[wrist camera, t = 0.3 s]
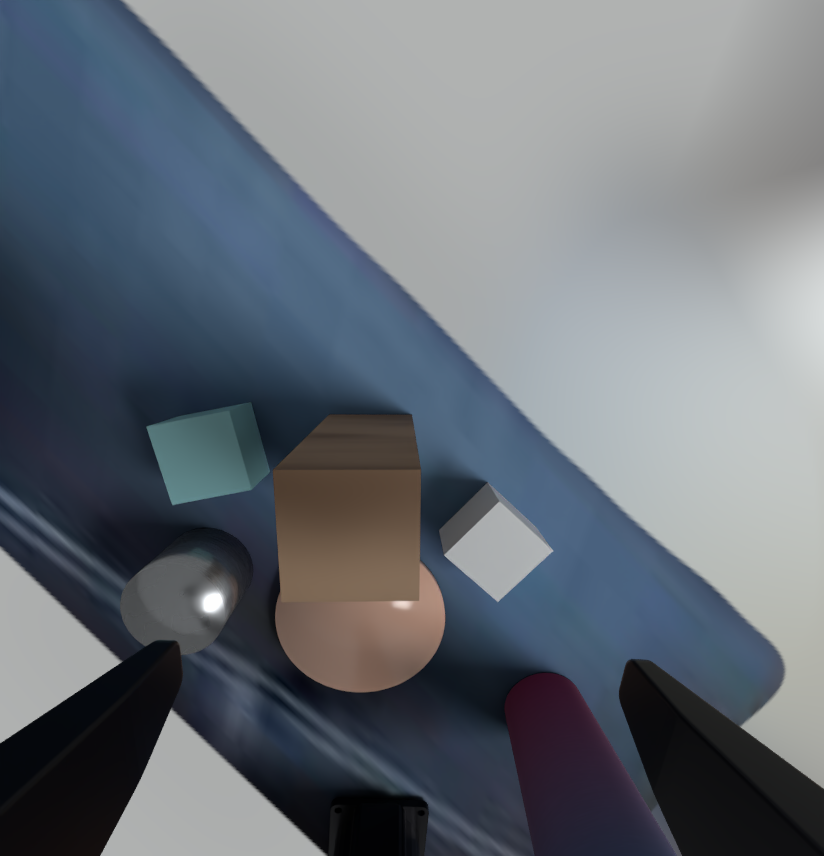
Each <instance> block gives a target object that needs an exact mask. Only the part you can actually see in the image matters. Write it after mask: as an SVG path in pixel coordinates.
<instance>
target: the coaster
mask: <svg viewBox="0 0 824 856" xmlns="http://www.w3.org/2000/svg"><path fill="white" fill-rule="evenodd" d="M275 622H276V629H277V634H278V637H279V640H280V643H281V645H282V647H283V649H284V651H285V653H286V654H287V656H288V657H289V658H290V660H291V661H292V662H293V663H294V664H295V665H296V667H297V668H298V669H299V670H301V671H302V672H303V673H304V674H306V675H307V676H308V677H310V678H312V679H313V680H315V681H317V682H319V683H321V684H323V685H325V686H328V687H331V688H334V689H338V690H343V691H349V692H372V691H379V690H383V689H387V688H390V687H393V686H396V685H398V684H400V683H402V682H404V681H406V680H408V679H410V678H411V677H413V676H414V675H416V674H417V673H418V672H419V671H420V670H421V669H423V668H424V667H425V665H426V664H427V663H428V662H429V661H430V660H431V658H432V657H433V655H434V654H435V652H436V651H437V649H438V647H439V645H440V642H441V639H442V636H443V632H444V627H445V610H444V602H443V597H442V594H441V590H440V587H439V585H438V583H437V581H436V579H435V577H434V576H433V574H432V572H431V571H430V570H429V569H428V567H427V566H426V565H425V564H424V563H423V562H422V561H421V560H420V586H419V601H367V602H281V591H280V594H279V596H278V600H277V604H276V612H275Z"/></svg>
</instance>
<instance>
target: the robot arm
mask: <svg viewBox="0 0 824 856" xmlns="http://www.w3.org/2000/svg"><path fill="white" fill-rule="evenodd" d="M182 677H183V671H182V660H181V650H180V644H179V643H178V642H177V641H175V640H156V641H154V642H152V643H150V644H149V645H147V646H146V647H144V648H143V649H141V650H140V651H138V652H137V653H135V654H134V655H132V656H131V657H129V658H128V659H126V660H125V661H123V662H122V663H120V664H119V665H117V666H116V667H114V668H113V669H111V670H110V671H108V672H107V673H105V674H104V675H102V676H101V677H99V678H98V679H96V680H95V681H93V682H92V683H90V684H89V685H87V686H86V687H84V688H83V689H81V690H80V691H78V692H77V693H75V694H74V695H72V696H71V697H69V698H68V699H66V700H65V701H63V702H62V703H60V704H59V705H57V706H56V707H54V708H53V709H51V710H50V711H48V712H47V713H45V714H44V715H42V716H41V717H39V718H38V719H36V720H35V721H33V722H32V723H30V724H29V725H27V726H26V727H24V728H23V729H21V730H20V731H18V732H17V733H15V734H14V735H12V736H11V737H9V738H8V739H6V740H5V741H3V742H2V743H0V856H100V855H101V853H102V851H103V849H104V848H105V845H106V844H107V842H108V840H109V838H110V836H111V834H112V832H113V831H114V829H115V827H116V825H117V823H118V821H119V819H120V817H121V815H122V814H123V812H124V810H125V808H126V806H127V804H128V802H129V800H130V798H131V797H132V795H133V793H134V791H135V789H136V787H137V785H138V783H139V781H140V779H141V777H142V774H143V772H144V770H145V768H146V766H147V763H148V761H149V759H150V756H151V754H152V752H153V749H154V747H155V745H156V742H157V740H158V738H159V735H160V733H161V731H162V728H163V726H164V723H165V721H166V719H167V716H168V714H169V712H170V710H171V707H172V705H173V703H174V700H175V698H176V696H177V693H178V691H179V688H180V686H181V682H182ZM619 699H620V703H621V706H622V709H623V712H624V714H625V717H626V720H627V723H628V725H629V728H630V731H631V734H632V736H633V739H634V742H635V744H636V747H637V750H638V753H639V755H640V758H641V761H642V764H643V766H644V769H645V772H646V775H647V777H648V780H649V782H650V785H651V787H652V790H653V793H654V795H655V797H656V799H657V802H658V804H659V806H660V808H661V811H662V813H663V815H664V817H665V819H666V822H667V824H668V826H669V828H670V830H671V832H672V834H673V837H674V839H675V841H676V843H677V845H678V848H679V850H680V852H681V854H682V856H824V789H823V788H822V787H820V786H819V785H818V784H816V783H815V782H814V781H812V780H811V779H809V778H808V777H807V776H806V775H804V774H803V773H801V772H800V771H799V770H797V769H796V768H795V767H793V766H792V765H791V764H789V763H788V762H786V761H785V760H784V759H783V758H781V757H780V756H779V755H777V754H776V753H774V752H773V751H772V750H770V749H769V748H768V747H766V746H765V745H764V744H762V743H761V742H759V741H758V740H757V739H756V738H754V737H753V736H751V735H750V734H749V733H747V732H746V731H745V730H743V729H742V728H741V727H739V726H738V725H737V724H735V723H734V722H733V721H731V720H730V719H729V718H727V717H726V716H725V715H723V714H722V713H720V712H719V711H718V710H716V709H715V708H714V707H712V706H711V705H710V704H708V703H707V702H706V701H704V700H703V699H702V698H700V697H699V696H698V695H696V694H695V693H693V692H692V691H691V690H689V689H688V688H687V687H685V686H684V685H683V684H681V683H680V682H679V681H677V680H676V679H675V678H673V677H672V676H670V675H669V674H668V673H666V672H665V671H664V670H662V669H661V668H660V667H658V666H657V665H656V664H654V663H653V662H651V661H649V660H641V659H630V660H628V661H627V663H626V665H625V669H624V673H623V677H622V681H621V685H620V688H619ZM428 814H429V811H428V804H427V802H425V801H421V800H390V799H359V798H336V799H334V800H333V801H332V804H331V810H330V832H329V853H328V856H424V851H425V842H426V833H427V824H428Z"/></svg>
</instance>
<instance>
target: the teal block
mask: <svg viewBox="0 0 824 856" xmlns="http://www.w3.org/2000/svg"><path fill="white" fill-rule="evenodd" d="M147 430H148V433H149V436H150V439H151V442H152V445H153V448H154V451H155V454H156V457H157V460H158V463H159V466H160V469H161V473H162V476H163V479H164V482H165V485H166V488H167V491H168V494H169V497H170V500H171V503H172V505H175V504H180V503H185V502H190V501H196V500H201V499H206V498H211V497H217V496H222V495H227V494H232V493H238V492H243V491H248V490H252V489H253V488H254V487H255V486H256V485H257V484H258V483H259V482H260V481H261V480H262V479H263V478H264V477H265V476H267V475H268V474H269V473H270V469H269V466H268V462H267V458H266V455H265V451H264V447H263V444H262V440H261V436H260V433H259V429H258V426H257V422H256V418H255V415H254V411H253V407H252V404H251V402H249V403H244V404H239V405H234V406H228V407H223V408H218V409H213V410H208V411H203V412H198V413H192V414H187V415H182V416H178V417H175V418H171V419H168V420H165V421H162V422H159V423H156V424H153V425H150V426H147Z"/></svg>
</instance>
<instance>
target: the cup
mask: <svg viewBox="0 0 824 856" xmlns="http://www.w3.org/2000/svg"><path fill="white" fill-rule="evenodd" d="M504 710H505V717H506V721H507V726H508V731H509V736H510V740H511V745H512V750H513V755H514V759H515V764H516V769H517V774H518V778H519V783H520V788H521V793H522V797H523V802H524V807H525V811H526V816H527V821H528V826H529V830H530V835H531V840H532V845H533V849H534V854H535V856H677V855H676V853H675V851H674V850H673V848H672V847H671V845H670V843H669V841H668V840H667V838H666V836H665V835H664V833H663V831H662V830H661V828H660V826H659V825H658V823H657V821H656V820H655V818H654V816H653V814H652V813H651V811H650V809H649V808H648V806H647V804H646V803H645V801H644V799H643V798H642V796H641V794H640V793H639V791H638V789H637V788H636V786H635V784H634V783H633V781H632V779H631V778H630V776H629V774H628V773H627V771H626V769H625V767H624V766H623V764H622V762H621V761H620V759H619V757H618V756H617V754H616V752H615V751H614V749H613V747H612V746H611V744H610V742H609V741H608V739H607V737H606V736H605V734H604V732H603V731H602V729H601V727H600V726H599V724H598V722H597V720H596V719H595V717H594V715H593V714H592V712H591V710H590V709H589V707H588V705H587V704H586V702H585V700H584V699H583V697H582V695H581V694H580V692H579V690H578V689H577V687H576V686H575V685H574V684H573V683H572V682H571V681H570V680H569V679H567V678H566V677H564V676H561V675H558V674H554V673H539V674H534V675H531V676H528V677H526V678H524V679H522V680H521V681H519V682H518V683H517V684H516V685H515V686H514V687H513V688H512V689H511V690H510V692H509V694H508V695H507V698H506V701H505V708H504Z"/></svg>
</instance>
